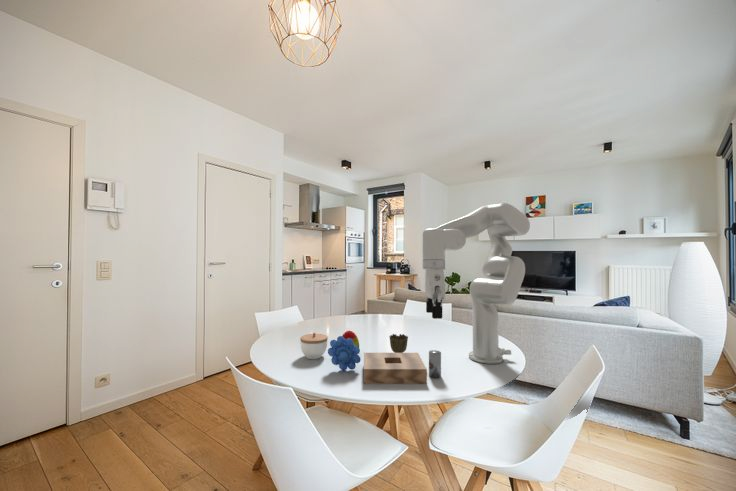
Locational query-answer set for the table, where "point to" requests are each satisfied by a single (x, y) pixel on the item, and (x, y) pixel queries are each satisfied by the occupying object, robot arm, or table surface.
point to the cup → (398, 343)
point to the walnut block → (394, 368)
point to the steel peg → (434, 364)
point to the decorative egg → (351, 337)
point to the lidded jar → (313, 345)
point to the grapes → (344, 353)
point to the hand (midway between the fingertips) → (433, 315)
